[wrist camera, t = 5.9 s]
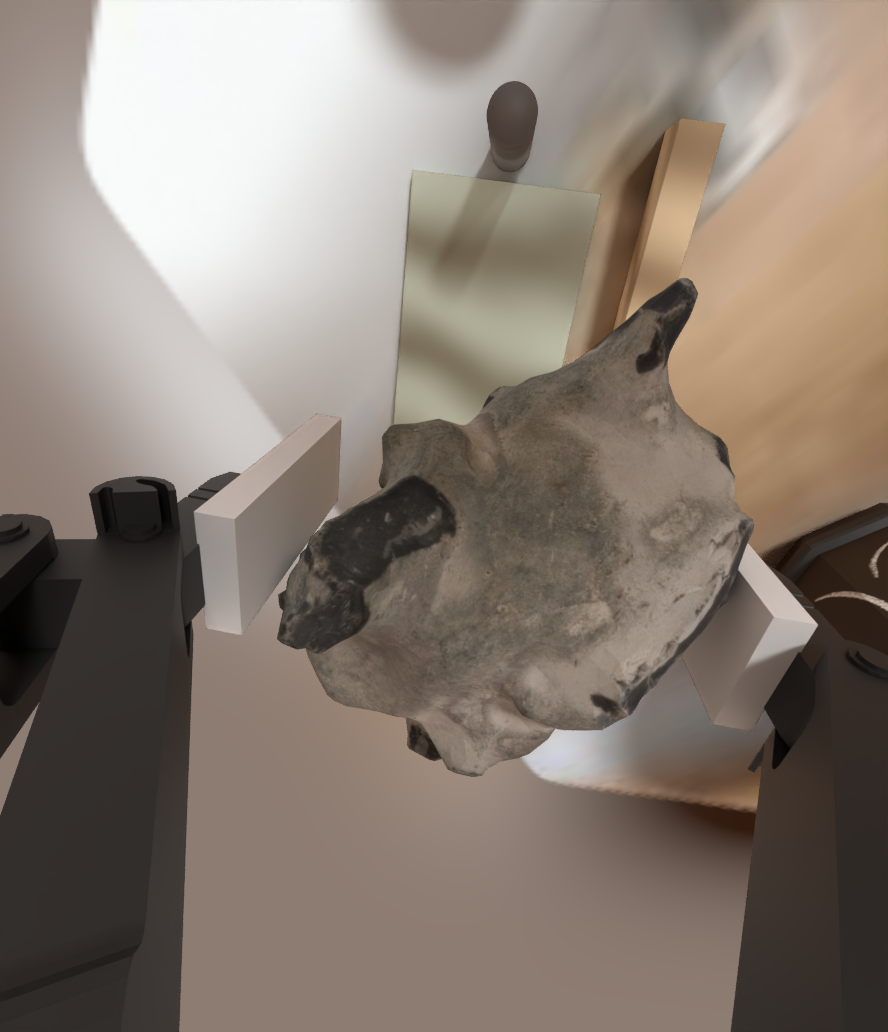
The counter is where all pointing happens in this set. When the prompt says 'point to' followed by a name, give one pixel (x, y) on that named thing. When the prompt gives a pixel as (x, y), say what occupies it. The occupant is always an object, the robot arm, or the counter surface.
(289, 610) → the decorative stone
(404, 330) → the grey tray with pegs
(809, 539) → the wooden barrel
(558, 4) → the counter surface
